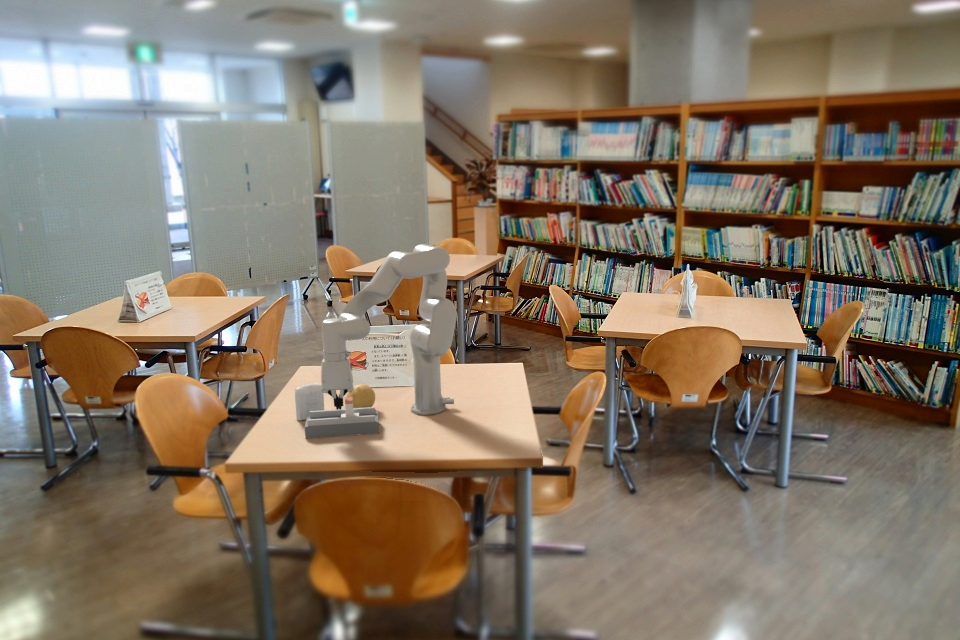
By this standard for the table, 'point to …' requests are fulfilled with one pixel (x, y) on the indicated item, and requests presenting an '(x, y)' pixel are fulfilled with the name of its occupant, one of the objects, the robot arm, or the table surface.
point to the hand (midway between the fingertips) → (339, 408)
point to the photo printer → (308, 400)
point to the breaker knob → (349, 408)
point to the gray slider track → (341, 423)
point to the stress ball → (362, 396)
